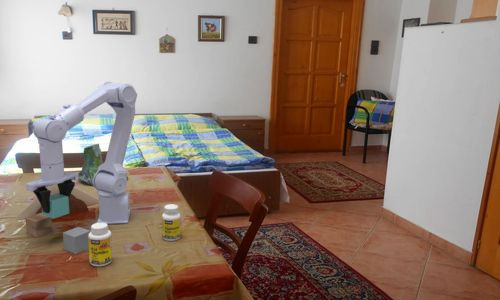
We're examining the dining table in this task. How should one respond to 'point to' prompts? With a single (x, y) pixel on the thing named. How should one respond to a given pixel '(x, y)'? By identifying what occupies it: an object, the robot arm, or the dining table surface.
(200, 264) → the dining table surface
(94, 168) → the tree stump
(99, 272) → the dining table surface
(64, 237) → the slate block
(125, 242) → the dining table surface
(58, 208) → the teal block
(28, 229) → the tan cube
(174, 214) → the supplement bottle
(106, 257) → the supplement bottle
